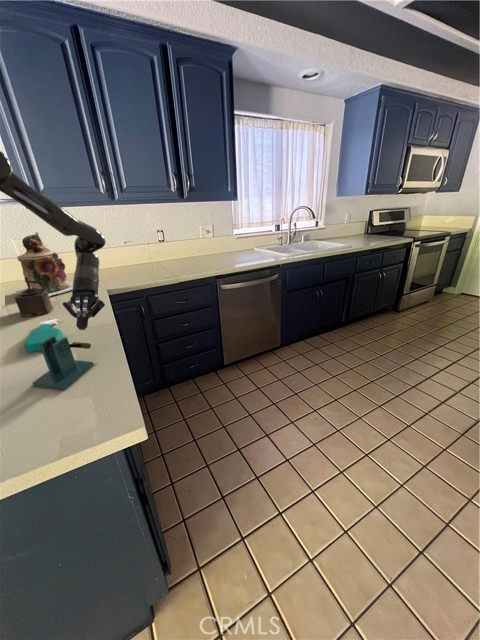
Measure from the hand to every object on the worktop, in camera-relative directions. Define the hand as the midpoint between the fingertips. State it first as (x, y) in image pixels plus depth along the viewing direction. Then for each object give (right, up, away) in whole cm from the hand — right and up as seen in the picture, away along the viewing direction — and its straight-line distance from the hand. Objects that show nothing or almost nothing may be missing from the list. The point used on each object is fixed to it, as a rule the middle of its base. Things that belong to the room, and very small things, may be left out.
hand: (81, 329), depth 85 cm
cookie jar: (-58, +20, +67) cm, 90 cm away
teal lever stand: (-1, -13, -7) cm, 15 cm away
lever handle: (0, -6, -6) cm, 9 cm away
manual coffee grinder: (-41, +7, +39) cm, 57 cm away
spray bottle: (-23, -3, +16) cm, 29 cm away
